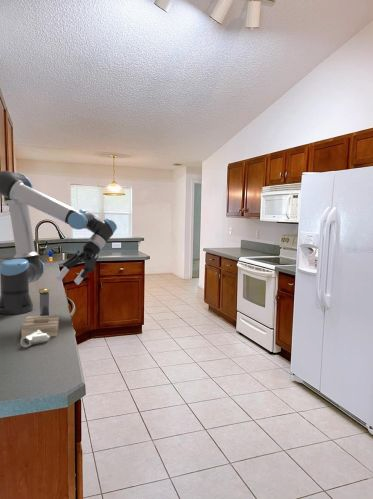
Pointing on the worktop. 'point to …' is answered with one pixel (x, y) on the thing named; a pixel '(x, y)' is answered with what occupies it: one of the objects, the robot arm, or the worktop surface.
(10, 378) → the worktop surface
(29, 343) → the pipe fitting
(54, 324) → the socket block
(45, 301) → the gold-capped peg
